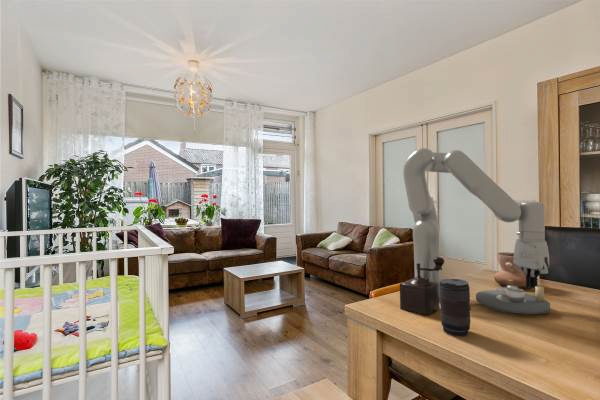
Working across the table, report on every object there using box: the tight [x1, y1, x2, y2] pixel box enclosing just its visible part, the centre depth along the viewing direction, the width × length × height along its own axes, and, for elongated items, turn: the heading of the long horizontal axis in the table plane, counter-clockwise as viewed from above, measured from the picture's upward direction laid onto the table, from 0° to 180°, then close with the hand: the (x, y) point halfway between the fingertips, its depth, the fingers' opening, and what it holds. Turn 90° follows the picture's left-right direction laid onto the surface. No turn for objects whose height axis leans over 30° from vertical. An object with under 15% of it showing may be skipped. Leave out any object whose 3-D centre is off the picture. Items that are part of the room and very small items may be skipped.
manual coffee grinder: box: [399, 256, 445, 317], centre depth 114 cm, size 16×11×18 cm
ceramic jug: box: [493, 251, 527, 289], centre depth 139 cm, size 18×14×14 cm
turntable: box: [475, 285, 551, 315], centre depth 112 cm, size 22×22×6 cm
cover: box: [500, 285, 525, 303], centre depth 111 cm, size 7×7×5 cm
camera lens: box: [439, 278, 472, 338], centre depth 92 cm, size 8×8×15 cm
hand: (531, 287), depth 112 cm, fingers closed
